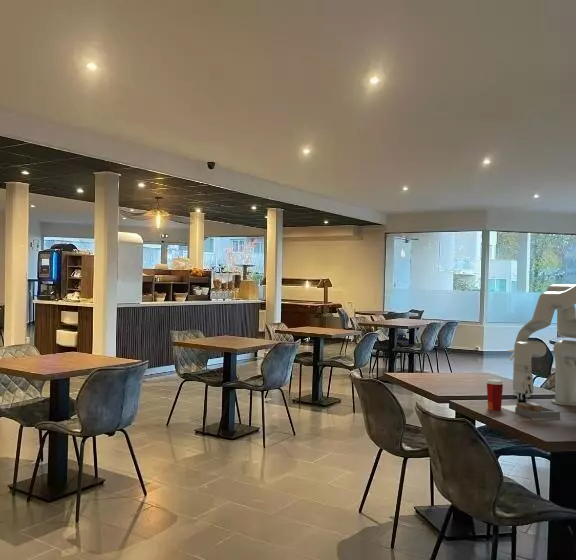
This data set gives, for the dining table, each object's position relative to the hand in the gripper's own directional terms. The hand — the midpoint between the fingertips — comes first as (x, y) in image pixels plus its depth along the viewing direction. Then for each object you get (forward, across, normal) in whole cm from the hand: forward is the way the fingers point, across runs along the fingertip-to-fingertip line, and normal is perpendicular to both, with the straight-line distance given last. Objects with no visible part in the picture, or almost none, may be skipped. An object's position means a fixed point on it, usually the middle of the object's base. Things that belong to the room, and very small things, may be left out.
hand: (522, 407), depth 272 cm
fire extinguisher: (+2, +38, -24) cm, 44 cm away
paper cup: (+2, +2, +13) cm, 13 cm away
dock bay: (+1, -4, 0) cm, 4 cm away
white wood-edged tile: (+1, -6, 0) cm, 6 cm away
